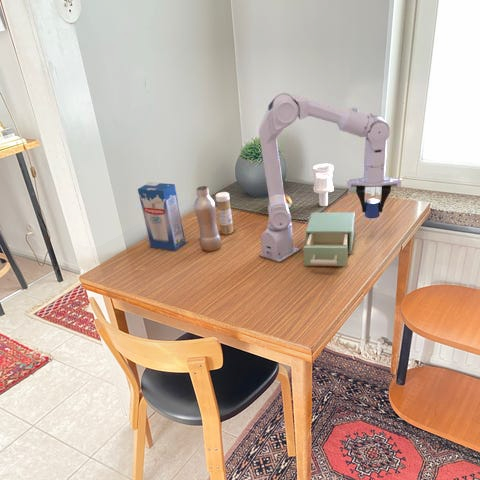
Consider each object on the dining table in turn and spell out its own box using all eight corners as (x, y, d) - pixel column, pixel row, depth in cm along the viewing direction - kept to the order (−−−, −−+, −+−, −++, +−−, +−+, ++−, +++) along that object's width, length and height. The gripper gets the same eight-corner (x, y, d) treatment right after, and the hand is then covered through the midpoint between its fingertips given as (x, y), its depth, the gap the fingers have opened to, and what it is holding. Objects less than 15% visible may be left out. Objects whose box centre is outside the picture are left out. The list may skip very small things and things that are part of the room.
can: (382, 214, 141) (383, 199, 139) (374, 219, 139) (375, 204, 136) (369, 211, 144) (370, 197, 141) (361, 216, 141) (362, 201, 139)
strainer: (321, 209, 172) (321, 167, 164) (309, 204, 178) (308, 163, 169) (337, 204, 175) (337, 163, 166) (325, 199, 180) (325, 159, 172)
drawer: (345, 274, 131) (346, 256, 128) (301, 273, 134) (301, 255, 131) (350, 245, 145) (350, 227, 142) (310, 244, 148) (309, 227, 145)
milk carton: (150, 247, 161) (137, 188, 150) (161, 239, 166) (149, 182, 155) (175, 250, 157) (163, 190, 146) (185, 242, 161) (174, 184, 150)
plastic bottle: (219, 253, 152) (210, 191, 141) (198, 253, 153) (188, 192, 142) (223, 244, 157) (215, 184, 146) (204, 244, 159) (194, 184, 147)
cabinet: (351, 254, 142) (351, 231, 138) (306, 253, 145) (305, 231, 141) (354, 233, 153) (354, 212, 149) (312, 233, 157) (311, 212, 153)
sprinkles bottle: (228, 228, 168) (223, 190, 160) (236, 231, 165) (231, 193, 157) (217, 232, 165) (212, 194, 158) (225, 236, 162) (220, 197, 155)
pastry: (278, 214, 173) (277, 204, 171) (264, 211, 177) (263, 201, 175) (293, 205, 179) (293, 195, 177) (279, 202, 183) (278, 193, 180)
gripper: (402, 159, 134) (398, 205, 142) (348, 160, 138) (348, 206, 145) (402, 166, 128) (398, 215, 136) (347, 168, 132) (346, 215, 140)
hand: (372, 211), depth 140 cm, fingers closed on can, 4 cm apart
